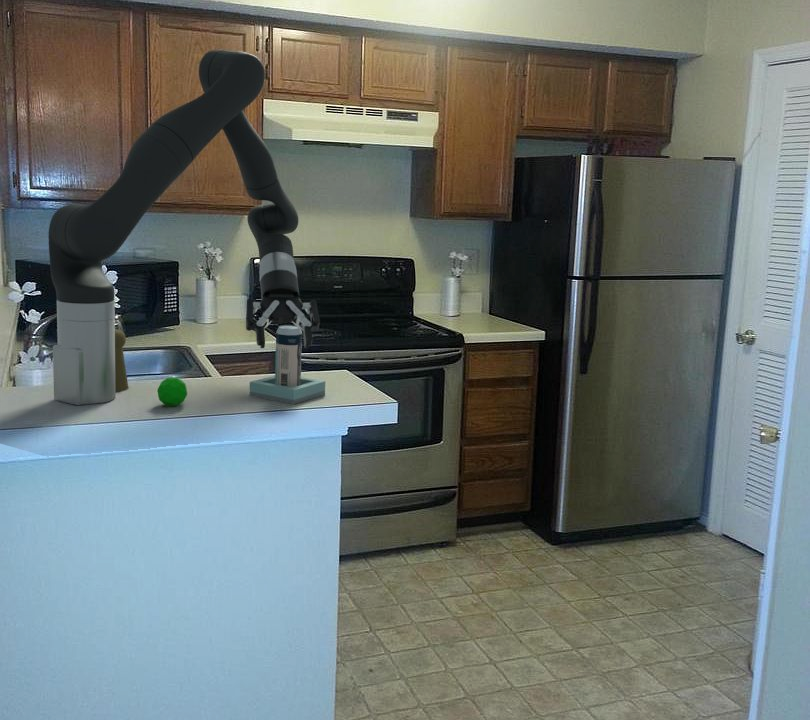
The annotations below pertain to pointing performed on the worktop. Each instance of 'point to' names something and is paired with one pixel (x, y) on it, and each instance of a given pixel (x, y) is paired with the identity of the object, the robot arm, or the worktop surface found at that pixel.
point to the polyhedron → (172, 391)
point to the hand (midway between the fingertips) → (285, 346)
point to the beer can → (288, 356)
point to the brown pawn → (120, 362)
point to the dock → (287, 390)
